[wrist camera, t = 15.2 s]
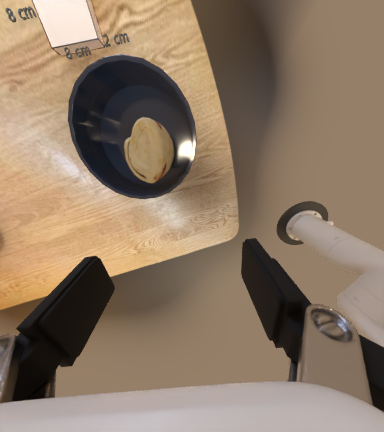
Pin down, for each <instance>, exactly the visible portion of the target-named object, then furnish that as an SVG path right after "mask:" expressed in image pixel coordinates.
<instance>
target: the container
mask: <svg viewBox="0 0 384 432" xmlns="http://www.w3.org/2000/svg"><path fill="white" fill-rule="evenodd" d="M32 2H33V4H34V7H35V9H36V12H37V14H38V16H39V19H40V21H41V24H42V26H43V28H44V31H45V33H46V36H47V38H48V40H49V43H50V45H51V48H52V49H53V50H54V51H56V52H57V53H58V54H60V55H61V56H65V55H66V57H67V58H68V59H72V55H71V54H74V53H76V54H77V56H79V57H82V55H83V56H84V53H83V52H84V51H85V53H86V55H87V56H88V54H87V51H89V54H90V55H91V52H90V50H94V49H99V48H104V47H105V46H106V47H107V46H111V45H110V44H108V41H109V39H108V36H107V35H106V34H104V35H103V37H105V36H106V37H107V41H106V44H105V45H104V42H103V39H102V35H101V32H100V28H99V25H98V22H97V18H96V15H95V12H94V8H93V5H92V2H91V0H32ZM9 10H10V14H9V12H8V11H9ZM23 10H24V12H25V15H26V17H27V18H28V19H29V17H28V15H27V10H28V12H29V14H30V17H31V18H33V17H32V14H31V12H30V10H32V12H33V14H34V16H35V17H36V14H35V12H34V10H33V9H32V8H31V7H28V8H26V7H25V9H24V8H23ZM23 10H22V9H19V10H18V13H19V16H20V17H21V18H22V19H23V20H26V19H27V18H26V17H22V16H21V12H22V11H23ZM6 12H7V14H9V15H8V17H9V19H10V20H11V21H12V22H16V18H15V16H13V12H12V10H11V9H9V8H6ZM11 16H13V18H14V19H13V20H12V19H11ZM125 35H126V36H127V34H126V33H124V35H123V34H119V38H120V41H121V44H122V40H121V36H123V39H124V42H125V38H124V36H125ZM116 37H118V35H115V36H114V41H115V43H116V44H120V42H116ZM127 40H128V42H129V39H128V36H127ZM125 43H126V42H125ZM79 52H82V55H78V53H79ZM68 55H70V58H69V57H68Z"/></svg>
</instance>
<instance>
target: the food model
mask: <svg viewBox="0 0 384 432" xmlns="http://www.w3.org/2000/svg"><path fill="white" fill-rule="evenodd" d="M124 151H125V157H126V161H127V163H128V165H129V167H130V169H131V170H132V172H133V173H134V174H135V175H136V176H137V177H138V178H139V179H141V180H143V181H145V182H148V183H155V182H156V181H157V180H159V179H160V178H162V177H163V176H164V175H165V174H166V173H167V172H168V170H169V169H170V167H171V165H172V162H173V158H174V146H173V141H172V139H171V137H170V135H169V133H168V132H167V130H166V129H165V128H164V127H163V126H162V125H161V124H160V123H158V122H156V121H154V120H152V119H150V118H145V117H143V118H140V119H138V120H137V121H136V123H135V124H134V126H133V129H132V134H131V137H129V138H127V139H126V140H125V144H124Z"/></svg>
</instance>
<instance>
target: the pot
mask: <svg viewBox="0 0 384 432" xmlns="http://www.w3.org/2000/svg"><path fill="white" fill-rule="evenodd" d="M143 117H145V118H150V119H152V120H154V121H156V122H158V123H160V124H161V125H162V126H163V127H164V128H165V129H166V130H167V132H168V133H169V135H170V137H171V139H172V141H173V146H174V158H173V162H172V165H171V167H170V169H169V170H168V172H167V173H166V174H165V175H164V176H163V177H162V178H160V179H159V180H157V181H156V182H155V183H148V182H145V181H143V180H141V179H139V178H138V177H137V176H136V175H135V174H134V173H133V172H132V170H131V169H130V167H129V165H128V163H127V161H126V157H125V151H124V144H125V140H126V139H127V138H129V137H131V134H132V129H133V126H134V124H135V123H136V121H137V120H138V119H140V118H143ZM68 122H69V127H70V132H71V137H72V141H73V143H74V145H75V148H76V150H77V152H78V154H79V157H80V158H81V160H82V161H83V163H84V164H85V166H86V167H87V168H88V170H89V171H90V173H92V174H93V175H94V176H95V177H96V178H97V179H98V180H99V181H100V182H101V183H102V184H103V185H105V186H107V187H108V188H110V189H111V190H113V191H115V192H116V193H119V194H122V195H125V196H127V197H130V198H139V199H149V198H156V197H159V196H162V195H164V194H166V193H169V192H170V191H172V190H173V189H174V188H175V187H177V186H178V185H179V184H180V183H181V182H182V181H183V179H184V178H185V177H186V175H187V174H188V172H189V170H190V167H191V165H192V162H193V160H194V156H195V149H196V130H195V122H194V119H193V116H192V113H191V110H190V107H189V104H188V102H187V100H186V98H185V97H184V95H183V93H182V92H181V90H180V88H179V87H178V85H177V84H176V83H175V82H174V81H173V80H172V79H171V78H170V77H169V76H168V75H167V74H166V73H165V72H164V71H163V70H162V69H161V68H159V67H157V66H155V65H154V64H152V63H150V62H148V61H147V60H145V59H143V58H139V57H134V56H129V55H124V54H120V55H113V56H107V57H102V58H101V59H99V60H97V61H96V62H94V63H92V64H91V65H89V66H87V67H86V68H85V70H84V71H83V72H82V74H81V75H80V76H79V78H78V79H77V80H76V82H75V84H74V87H73V90H72V93H71V96H70V99H69V110H68Z"/></svg>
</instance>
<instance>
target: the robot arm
mask: <svg viewBox="0 0 384 432" xmlns="http://www.w3.org/2000/svg"><path fill="white" fill-rule="evenodd" d="M333 224H334V222H333V221H328V222H327V221H325V220H323V219H322V217H321V215H320V214H319V213H318V212H316V211H313V210H305V211H301V212H299V213H297V214H296V215H294V216H293V217H292V218H291V219H290V220H289V222H288V224H287V226H286V233H287V235H288V236H289V237H290V238H292V239H294V240H301V241H302V242H303V243H305V244H306V245H307V246H309V247H310V248H311V249H313V250H314V251H315V252H316V253H317V254H319V255H320V256H321V257H322V258H324V259H325V260H326V261H328V262H329V263H330V264H331V265H333V266H334V267H336V268H337V269H340V270H342V271H345V272H349V273H355V274H361V276H360V277H359V278H358V279H357V280H356V281H355V282H354V283H352V284H351V285H350V286H349V287H347V288H346V289H345V290H344V291H342V292H341V293H340V294H339V295H338V296H337V299H336V302H337V305H338V307H339V309H340V310H341V311H342V312H343V314H344V315H345V316H346V317H347V318H348V319H349V320H350V321H349V320H348V319H347V318H346V317H345V316H343V315H342V314H340V313H339V312H337V311H336V310H334V309H332V308H330V307H327V306H324V305H320V304H311V303H310V301H309V300H308V299H307V298H306V296H305V295H304V294H303V293H302V292H301V291H300V289H299V288H298V287H297V285H296V284H295V283H294V282H293V281H292V279H291V278H290V277H289V276H288V274H287V273H286V272H285V270H284V269H283V268H282V267H281V266H280V264H279V263H278V262H277V261H276V260H275V259H273V258H271V257H270V256H269V255H268V253H267V252H266V251H265V250H264V249H263V247H262V246H261V245H260V243H259V242H258V241H257V239H255V238H254V239H246V240H245V242H243V247H242V268H241V274H242V278H243V281H244V283H245V285H246V287H247V290H248V292H249V295H250V297H251V299H252V301H253V304H254V306H255V309H256V311H257V313H258V316H259V318H260V320H261V323H262V325H263V327H264V330H265V332H266V334H267V336H268V338H269V340H273V342H274V344H275V347H276V348H282V347H283V348H284V350H285V352H286V355H287V356H288V357H289V367H288V373H287V381H286V382H282V381H281V382H280V381H271V382H253V383H233V384H219V385H205V386H192V387H179V388H166V389H154V390H141V391H129V392H117V393H105V394H92V395H81V396H69V397H58V398H55V380H56V379H55V378H56V369H57V367H58V365H60V366H61V367H67V366H72V365H73V363H74V361H75V360H76V358H77V357H78V356H79V355H80V354H81V352H82V350H83V348H84V347H85V345H86V343H87V341H88V339H89V337H90V335H91V333H92V331H93V330H94V328H95V326H96V324H97V322H98V320H99V318H100V316H101V314H102V313H103V311H104V309H105V307H106V305H107V303H108V302H109V300H110V298H111V296H112V294H113V292H114V289H115V288H114V284H113V282H112V280H111V279H110V276H109V275H108V273H107V271H106V269H105V267H104V265H103V263H102V261H101V259H100V258H98V257H97V256H92V257H86V258H84V259H83V260H82V261H81V262H80V263H79V264H78V265H77V266H76V267H75V268H74V269H73V270H72V272H71V273H70V274H69V275H68V276H67V277H66V278H65V279H64V280H63V281H62V282H61V283H60V284H59V285H58V286H57V287H56V288H55V289H54V290H53V291H52V292H51V293H50V294H49V295H48V296H47V297H46V298H45V299H44V300H43V301H42V302H41V303H40V304H39V305H38V306H37V308H35V310H34V311H33V312H32V313H31V314H30V315H29V316H28V317H27V318H26V319H25V320H24V321H23V322H22V323H21V324H20V325H19V326H18V327H17V330H18V331H19V332H21V333H20V334H19V335H18V336H16V335H14V334H6V335H2V336H0V432H384V251H383V250H381V249H378V248H376V247H374V246H372V245H370V244H368V243H366V242H364V241H362V240H360V239H358V238H356V237H354V236H352V235H350V234H348V233H346V232H344V231H343V230H341V229H339V228H337V227H335V226H333ZM352 324H353V325H354V326H356V328H357V329H358V330H359V331H360V332H361V333H362V334H363V335H364V336H365V337H363V336H361V335H359V334H358V333H357V330H356V329H355V327H354V326H353V325H352Z"/></svg>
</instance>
